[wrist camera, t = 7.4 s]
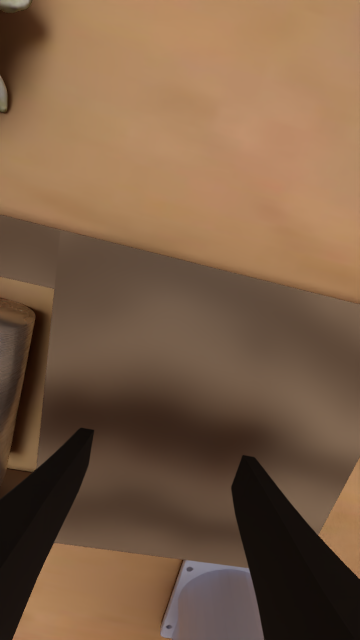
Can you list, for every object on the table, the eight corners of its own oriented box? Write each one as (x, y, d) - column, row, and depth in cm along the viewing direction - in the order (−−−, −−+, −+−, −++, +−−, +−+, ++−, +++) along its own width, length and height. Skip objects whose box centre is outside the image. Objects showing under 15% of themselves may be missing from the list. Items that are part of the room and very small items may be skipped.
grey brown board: (282, 537, 16) (297, 574, 14) (-116, 480, 14) (-163, 514, 12) (390, 313, 12) (431, 322, 10) (-148, 179, 10) (-227, 158, 8)
